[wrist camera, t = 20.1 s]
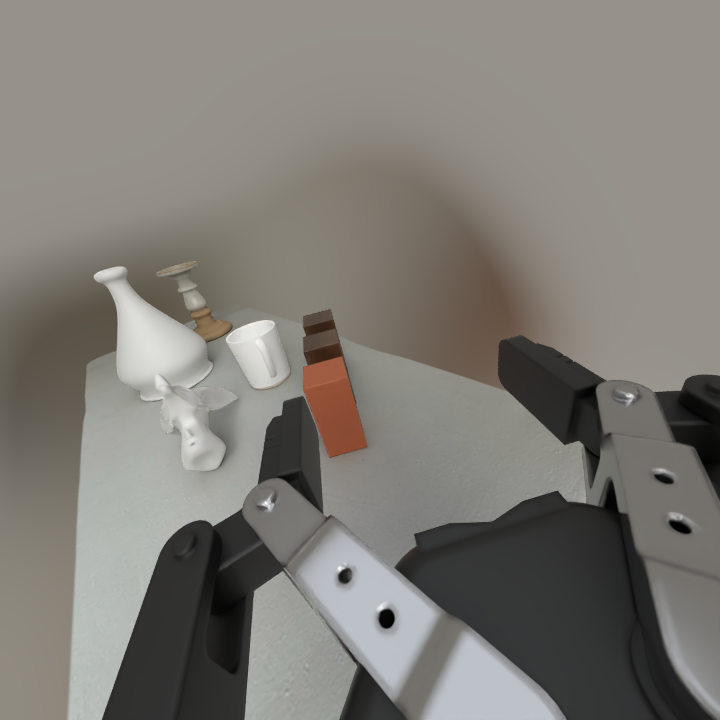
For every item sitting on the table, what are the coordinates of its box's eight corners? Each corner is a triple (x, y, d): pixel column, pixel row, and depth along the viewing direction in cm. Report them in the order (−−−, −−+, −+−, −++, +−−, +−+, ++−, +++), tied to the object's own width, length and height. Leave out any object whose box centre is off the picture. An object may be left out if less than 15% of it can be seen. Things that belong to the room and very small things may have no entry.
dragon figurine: (103, 459, 28) (95, 367, 35) (188, 510, 42) (170, 436, 49) (228, 401, 32) (198, 329, 39) (268, 464, 46) (240, 402, 53)
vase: (148, 414, 56) (52, 288, 44) (127, 390, 68) (45, 284, 55) (230, 367, 66) (171, 253, 54) (199, 353, 78) (145, 256, 65)
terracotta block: (360, 421, 42) (342, 355, 37) (367, 447, 38) (347, 377, 32) (326, 431, 42) (302, 366, 37) (329, 457, 38) (303, 389, 32)
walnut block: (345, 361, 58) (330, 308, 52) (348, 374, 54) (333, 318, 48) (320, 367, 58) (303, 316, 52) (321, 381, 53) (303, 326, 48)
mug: (244, 379, 60) (221, 334, 55) (284, 360, 64) (266, 316, 58) (258, 403, 52) (233, 353, 47) (304, 380, 55) (285, 330, 50)
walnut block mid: (351, 386, 50) (335, 328, 45) (356, 404, 46) (339, 342, 40) (323, 394, 50) (303, 336, 44) (325, 413, 46) (303, 351, 40)
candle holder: (190, 335, 92) (154, 270, 82) (230, 321, 96) (200, 257, 86) (189, 348, 82) (148, 277, 72) (234, 332, 85) (200, 262, 75)
